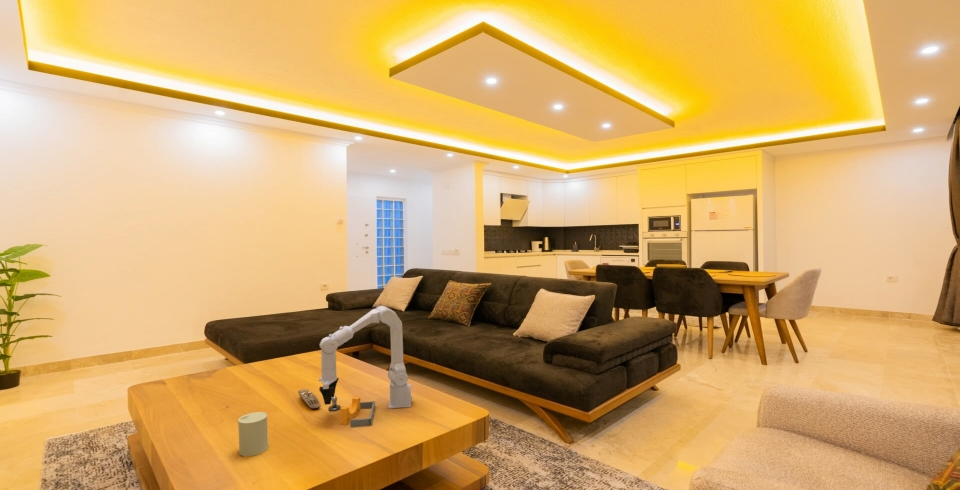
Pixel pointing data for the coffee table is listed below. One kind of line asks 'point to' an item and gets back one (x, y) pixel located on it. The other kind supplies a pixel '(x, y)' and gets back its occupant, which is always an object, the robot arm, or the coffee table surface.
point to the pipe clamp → (350, 411)
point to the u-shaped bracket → (367, 420)
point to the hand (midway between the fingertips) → (329, 400)
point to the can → (253, 434)
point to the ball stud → (334, 405)
